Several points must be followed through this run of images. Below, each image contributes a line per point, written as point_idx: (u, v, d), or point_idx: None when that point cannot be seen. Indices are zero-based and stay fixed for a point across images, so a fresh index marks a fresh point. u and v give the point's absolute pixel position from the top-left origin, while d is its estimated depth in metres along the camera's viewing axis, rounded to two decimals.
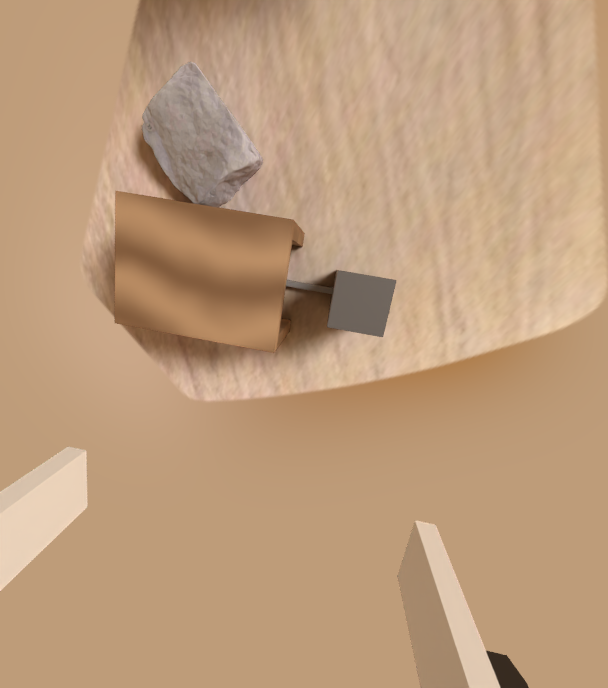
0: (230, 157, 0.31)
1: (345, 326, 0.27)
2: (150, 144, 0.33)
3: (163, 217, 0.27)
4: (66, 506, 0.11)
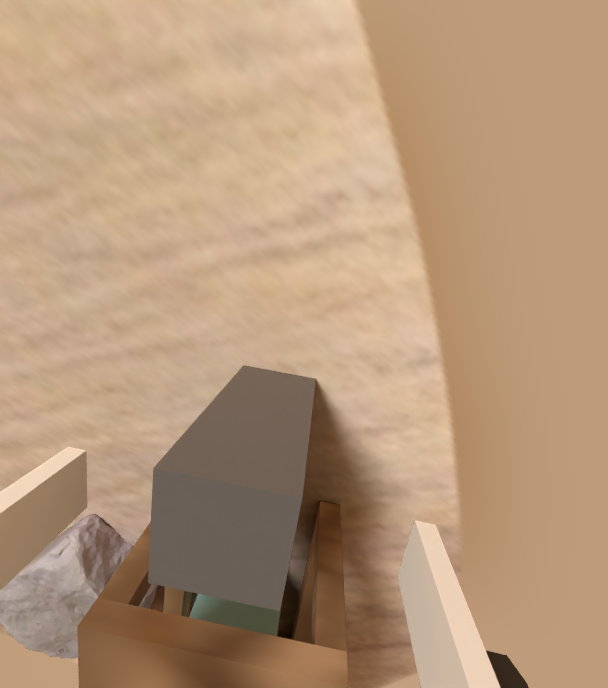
0: (67, 586, 0.21)
1: (276, 576, 0.11)
2: None
3: None
4: (66, 506, 0.11)
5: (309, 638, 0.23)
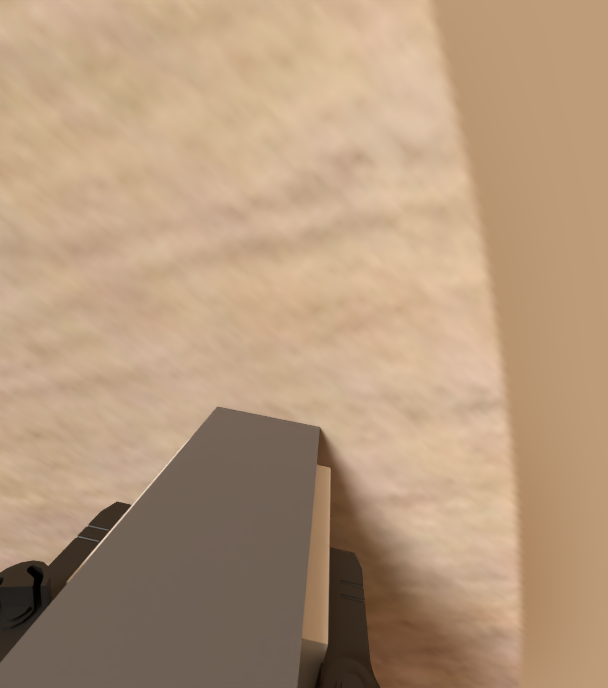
0: None
1: None
2: None
3: None
4: None
5: None
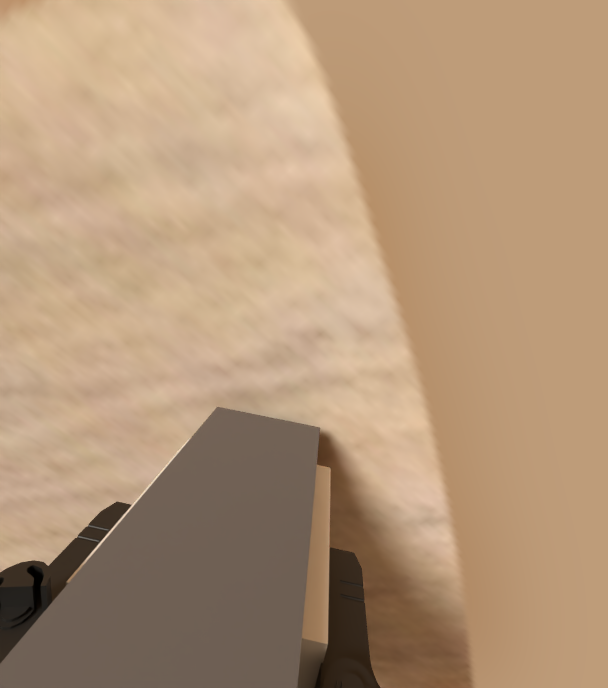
0: None
1: None
2: None
3: None
4: None
5: None
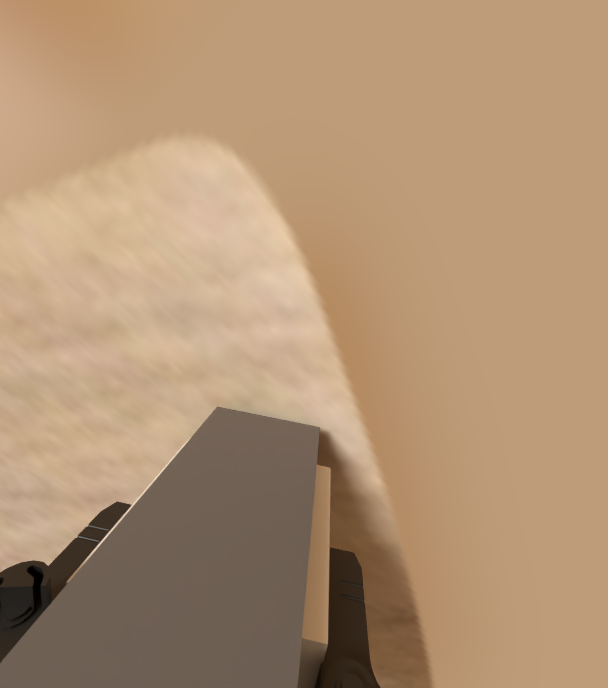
0: None
1: None
2: None
3: None
4: None
5: None
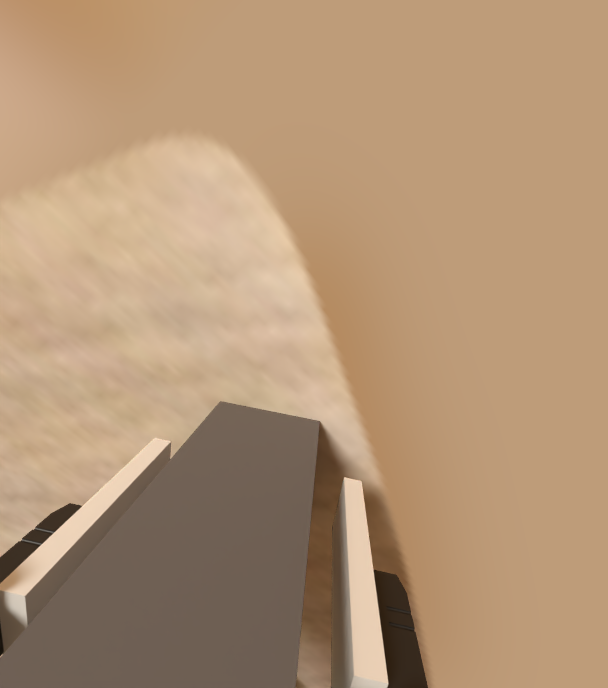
0: None
1: None
2: None
3: None
4: None
5: None
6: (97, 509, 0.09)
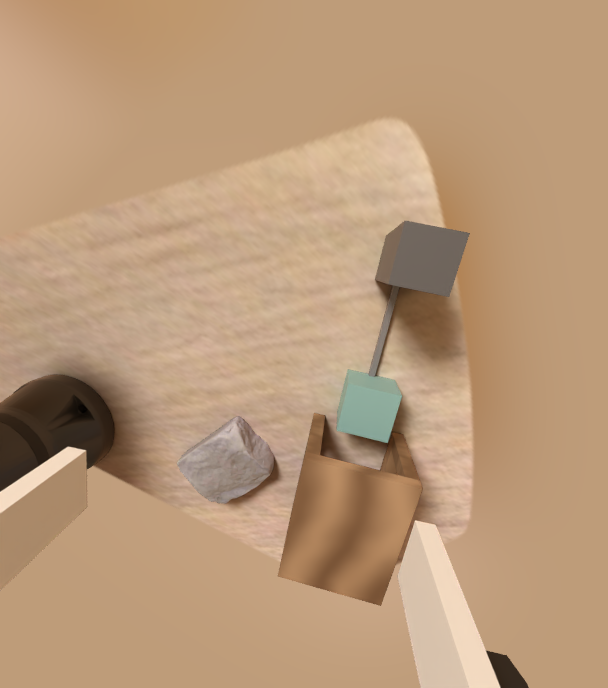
0: (234, 447, 0.39)
1: (450, 276, 0.24)
2: (229, 499, 0.43)
3: (298, 549, 0.34)
4: (66, 506, 0.11)
5: None
6: None
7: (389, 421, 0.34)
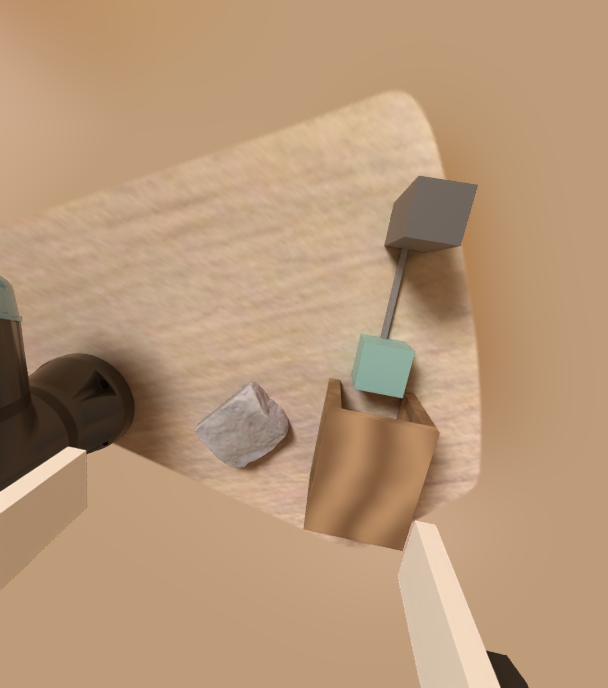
0: (251, 409, 0.41)
1: (461, 226, 0.27)
2: (246, 463, 0.44)
3: (323, 501, 0.36)
4: (66, 506, 0.11)
5: None
6: None
7: (403, 377, 0.36)
